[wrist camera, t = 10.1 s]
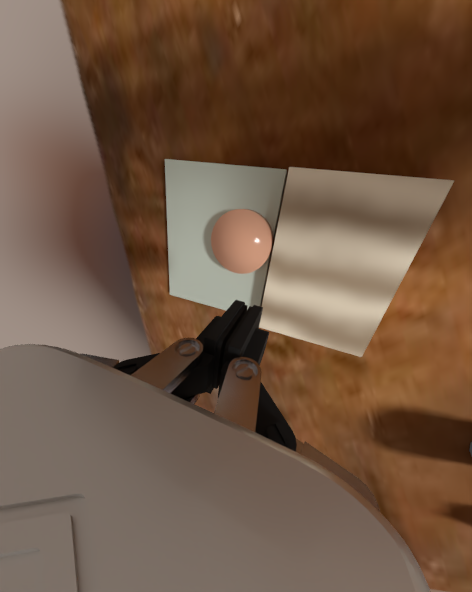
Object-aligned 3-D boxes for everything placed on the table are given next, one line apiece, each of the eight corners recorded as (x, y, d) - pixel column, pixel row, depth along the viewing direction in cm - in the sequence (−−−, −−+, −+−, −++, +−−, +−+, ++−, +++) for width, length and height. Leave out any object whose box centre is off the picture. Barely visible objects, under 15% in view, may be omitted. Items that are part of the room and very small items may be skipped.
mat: (169, 160, 27) (164, 158, 26) (287, 170, 23) (286, 169, 22) (173, 292, 36) (169, 294, 35) (258, 316, 32) (257, 319, 31)
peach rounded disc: (220, 203, 26) (214, 203, 24) (280, 215, 24) (278, 216, 22) (214, 261, 30) (208, 265, 28) (265, 275, 28) (263, 280, 26)
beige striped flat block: (291, 171, 23) (289, 166, 20) (435, 183, 19) (454, 180, 17) (261, 317, 32) (257, 326, 29) (356, 343, 28) (361, 357, 26)
